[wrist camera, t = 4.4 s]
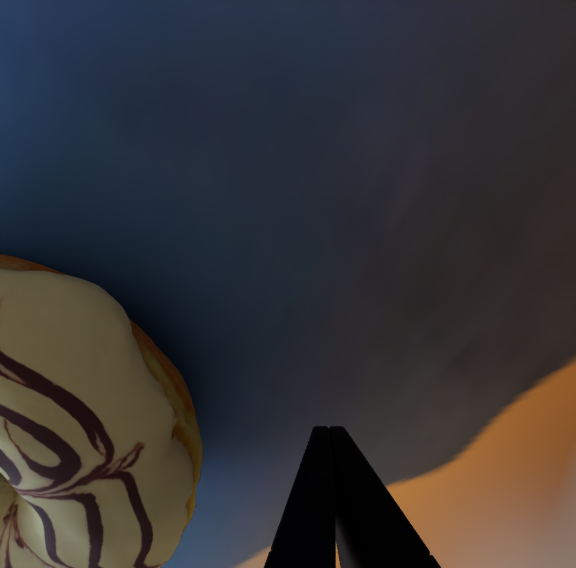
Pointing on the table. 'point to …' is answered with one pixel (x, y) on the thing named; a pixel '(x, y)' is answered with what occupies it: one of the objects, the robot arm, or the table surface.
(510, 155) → the table surface
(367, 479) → the robot arm
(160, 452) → the decorated donut
